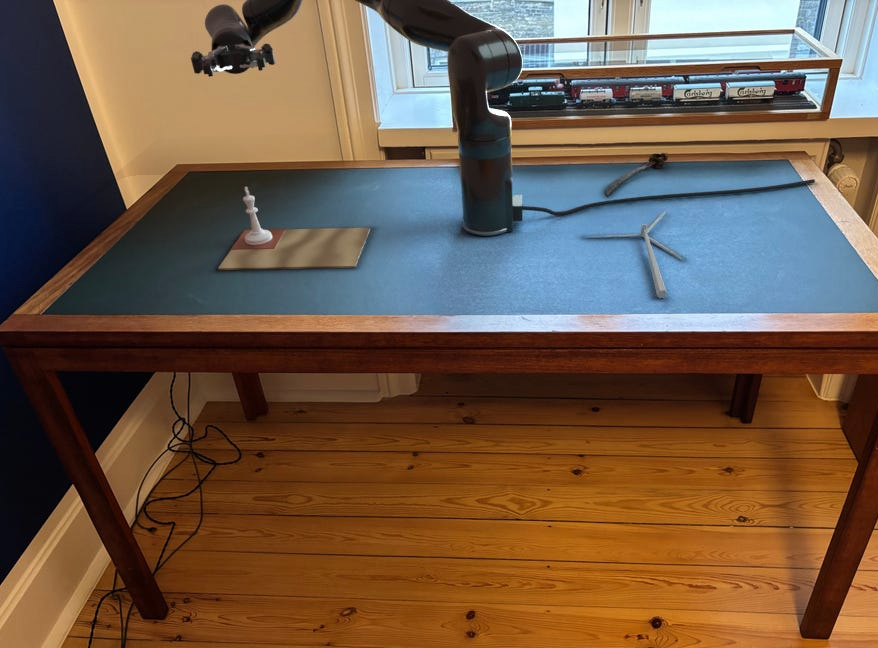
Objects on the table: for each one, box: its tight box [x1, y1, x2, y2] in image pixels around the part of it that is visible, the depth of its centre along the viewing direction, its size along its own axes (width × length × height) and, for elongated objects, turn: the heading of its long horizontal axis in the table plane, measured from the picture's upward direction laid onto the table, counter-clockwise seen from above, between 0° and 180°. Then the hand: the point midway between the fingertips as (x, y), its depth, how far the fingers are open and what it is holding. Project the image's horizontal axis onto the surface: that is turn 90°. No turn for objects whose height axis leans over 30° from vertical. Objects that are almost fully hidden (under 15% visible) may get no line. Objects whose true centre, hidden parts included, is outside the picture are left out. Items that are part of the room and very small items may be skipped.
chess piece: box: [242, 186, 272, 245], centre depth 130 cm, size 5×5×10 cm
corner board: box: [217, 227, 372, 271], centre depth 129 cm, size 24×15×1 cm, turn 87°
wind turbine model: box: [584, 210, 683, 299], centre depth 122 cm, size 16×2×30 cm
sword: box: [604, 152, 669, 197], centre depth 149 cm, size 25×4×2 cm, turn 137°
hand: (234, 67), depth 125 cm, fingers open, 8 cm apart
